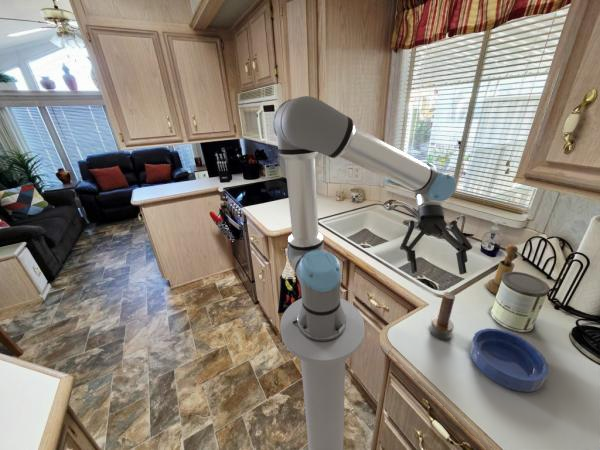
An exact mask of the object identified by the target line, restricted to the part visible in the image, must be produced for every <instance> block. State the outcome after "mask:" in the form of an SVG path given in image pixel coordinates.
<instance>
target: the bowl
mask: <svg viewBox="0 0 600 450" xmlns="http://www.w3.org/2000/svg"><path fill="white" fill-rule="evenodd" d="M470 343H471V344H470V347H469V354H470V358H471V359H472V361H473V363H474V364H475V366H476V367H477V368H478V369H479V371H480V372H482V374H484V375H485V376H487V377H488V378H489V379H490V380H491V381H493V382H495V383H497V384H499V385H500V386H502V387H505V388H507V389H510V390H514V391H516V392H523V393H524V392H525V393H531V392H534V391H538V390H539V389H540V388H541V387H542V386H543V384H544V383H545V381H546V379H547V377H548V375H549V364H548V362H547V360H546V358H545V357H544V355H543V354H542V353H541V352H540V351H539V350H538V349H537V348H536V347H535V346H533V345H532V344H531V343H530V342H528V341H527V340H525V339H523V338H522V337H520V336H519V335H516V334H515V333H511V332H509V331H506V330H502V329H498V328H483V329H479V330H478V331H476V332H475V333H474V335H473V337H472V340H471V342H470Z"/></svg>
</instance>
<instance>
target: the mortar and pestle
mask: <svg viewBox="0 0 600 450" xmlns="http://www.w3.org/2000/svg"><path fill="white" fill-rule="evenodd" d="M518 251H519V249H518V247H517V246H516V245H515V244H508V245H507V246H506V247H505V253H506V255H505V256H504V260H500V261H499V263H498V267H497V270H496V273H495V276H494V278H491V279H489V280H488V282H487V285H486V288H487V289H488V290H489V292H491V293H493V294H495V295H497V293H498V289H499V286H500V283H501V280H502V276H503V274H504V273H506V272H514V271H513V270H514V268H515V263H513V261H514V255H516V254H517V253H518Z"/></svg>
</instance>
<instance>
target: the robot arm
mask: <svg viewBox="0 0 600 450" xmlns="http://www.w3.org/2000/svg"><path fill="white" fill-rule="evenodd" d="M272 127H273V132H274V134H275V136H276V140H277V148H278V155H279V156H280V157H281V158H282V159H283V160H284V167H285V174H286V184H287V195H288V205H289V206H288V207H289V215H290V225H291V227H290V228H291V233H290V235H288V238H287V243H288V244H287V248H286V254H287V259H288V261H289V264H291V267H292V269H293V272H294V274H295V276H296V278H297V280H298V283H299V286H300V291H301V292H300V293H301V298H302V305H301V308H300V311H299V314H298V320H296V321H293V324H295V323H297V322H298V327H299V330H300V332H301V333H302V334H303V335H304V336H305V337H306V338H308V339H310V340H312V341H315V342H330V341H333V340H335V339H337V338H339V337H340V336H341V335H342V334H343V332H344V331H345V328H346V316H345V313H344V311H343V308H342V306H341V304H340V298H341V286H342V285H341V283H342V282H341V281H342V269H341V264H340V261H339V259H338V258H337V257H336V256H335V255H334V254H333V253H332V252H328V251H327V250H325V245H324V235H323V233H321V232H320V231H319V216H318V214H319V213H318V194H317V178H316V177H317V175H316V156H318V154H321V155H325V156H326V157H329V158H332V159H336V158H338V157H339V158H341V159H344V160H346V161H348V162H350V163H352V164H353V165H354V164H355V165H356V166H359V167H360V168H363V169H365V170H367V171H369V172H372V173H374V174H376V175H378V176H380V177H382V178H384V180H385V182H386V183H388V184H391V185H393V186H397V187H400V188H403V189H405V190H408V191H410V192H413V193H414V195H415V206H416V213H417V214H416V215H417V221H415V220H413V219H411V220H410V221H409V222H408V224H407V227H408V228H407V231H406V233H405V235H404V238H403V239H402V242H401V244H400V246H399V249H400V251H405V253H406V259H407V260H406V261H407V262H409V263H410V267H411V274H416V273H417V272H418V267H417V259H416V250H415V249H414V247H415V246H416V245H417V244H418V243H419V241H420V240H421V239H422V238H423V237H424V236H427V237H432V236H434V237H438V236H439V237H440V238H443V239H444V240H445V241H446V242H447V243H448V244H450V246H451V247H452V248H454V249H455V250H456V251H457V252H456V253H455V255H456V260H457V267H458V274H459V275H465V274H467V273H468V272H467V267H466V263H468V255H467V252H468V251H470V250H473V245H472V244H471V243H470V241H469V240H468V239H467V237H466V236H465V235H464V233H463V232H462V231H461V230H460V228H459V227H458V223H457V221H456V220H455V219H454V220H451V221H446V220H445V213H444V207H443V202H444V201H447V200H448V199H450V198H451V197H452V196H453V194H454V193H455V191H456V189H457V180H456V178H455V176H453V175H451V174H449V173H447V172H444V171H439V170H438V169H437V167H436V165H434V164H433V163H430V162H428V163H426V162H422V161H421V160H418V159H416V158H415V157H413V156H411V155H409V154H407V153H406V152H403V151H402V150H400V149H398V148H396V147H394V146H393V145H390V144H389V143H387V142H385V141H383V140H381V139H379V138H377V137H376V136H375V135H372V134H371V133H368V132H367V131H365V130H363V129H362V128H359V127H358V126H355V121H354V120H353V118H351V117H349V116H348V115H346V114H345V113H343V112H341V111H340V110H337V109H336V108H334V107H333V106H331V105H330V104H328V103H326V102H324V101H323V100H320V99H319V98H316V97H313V96H309V95H307V96H305V95H304V96H298V97H295V98H291V99H288V100H285V101H284V102H282V103H281V104H280V105H279V106H278V108H277V109H276V110H275V113H274V114H273V119H272ZM446 227H447V228H448V229H447V228H446ZM416 228H418V229H419V230H420V232H419V233H418V234H417V236H416V237H415V238H414V239H413V240H412V242H411V243H410V244H409V245H408V243H409V240H410V239H411V236H412V234H413V231H414V229H416ZM449 230H450V231H449ZM450 232H451V233H452V234H451V233H450Z"/></svg>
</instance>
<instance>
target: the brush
mask: <svg viewBox="0 0 600 450" xmlns="http://www.w3.org/2000/svg"><path fill="white" fill-rule="evenodd" d="M455 299H456V296H455V294H453V293H452V292H449V291H445V292H443V294H442V298H441V302H440V307H439V313H438V315H434V316H433V317H432V318H431V322H430V323H431V325H430V333H431V334H432V336H434V337H435V339H439V340H441V341H447V340H449V339H450V338H451V335H452V332H453V331H454V328H455V325H454V322H453V321H452V320H451V316H452V311H453V308H454V307H453V306H454V304H455V301H456V300H455Z"/></svg>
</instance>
